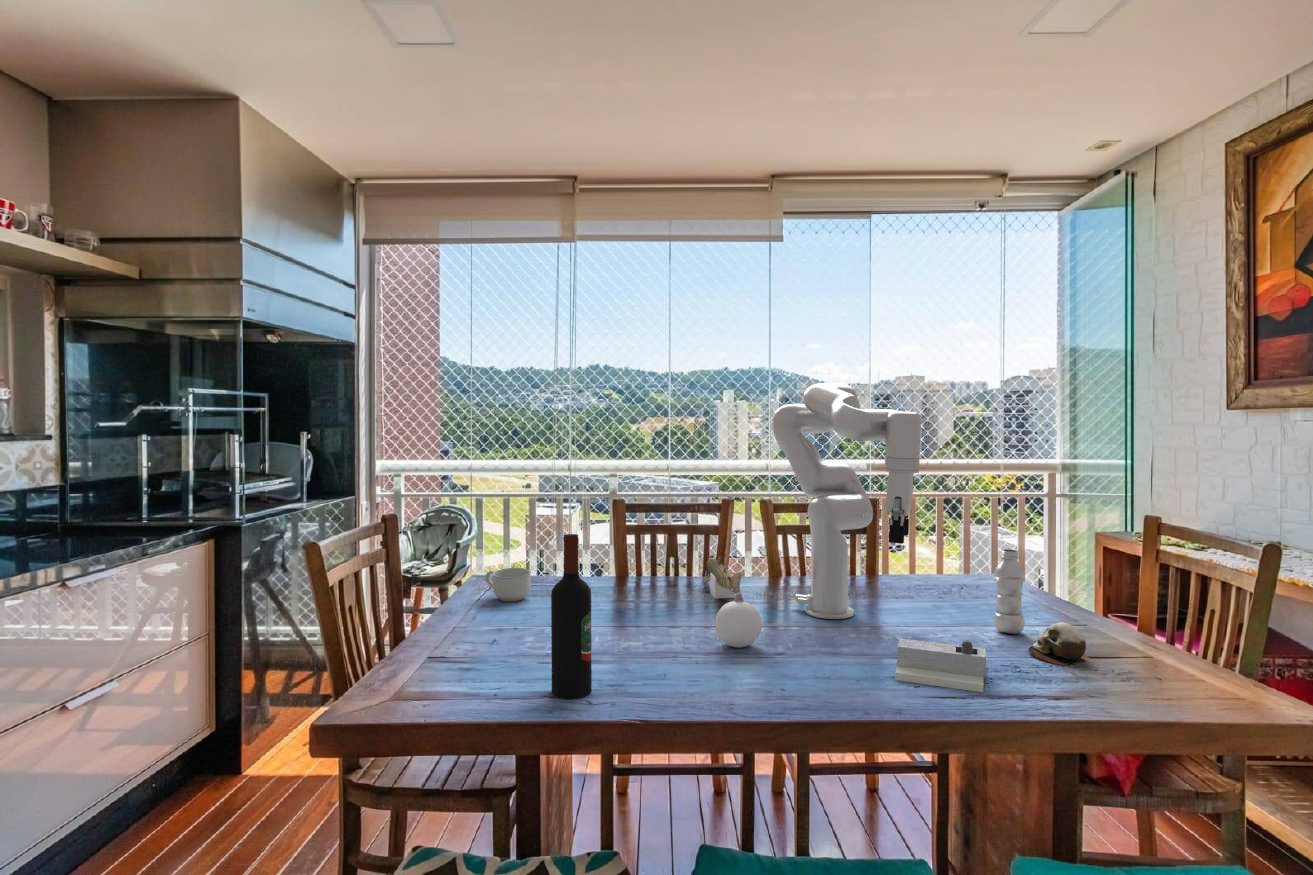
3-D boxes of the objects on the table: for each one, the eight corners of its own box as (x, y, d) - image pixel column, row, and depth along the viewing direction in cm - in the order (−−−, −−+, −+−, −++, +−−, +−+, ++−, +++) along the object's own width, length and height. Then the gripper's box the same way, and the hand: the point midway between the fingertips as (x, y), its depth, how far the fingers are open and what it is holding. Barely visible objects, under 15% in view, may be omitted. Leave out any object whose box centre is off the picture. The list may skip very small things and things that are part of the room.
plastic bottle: (1027, 637, 172) (1029, 553, 171) (997, 635, 173) (998, 552, 172) (1020, 629, 178) (1021, 548, 177) (990, 628, 179) (991, 547, 179)
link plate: (896, 666, 148) (897, 646, 148) (899, 657, 153) (899, 638, 153) (985, 677, 141) (985, 657, 141) (985, 668, 147) (985, 648, 147)
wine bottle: (552, 684, 142) (552, 532, 141) (591, 683, 142) (591, 531, 142) (550, 699, 134) (549, 538, 133) (591, 698, 135) (590, 538, 134)
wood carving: (723, 614, 192) (723, 572, 192) (697, 584, 227) (697, 548, 226) (756, 613, 193) (756, 571, 193) (725, 583, 228) (725, 547, 228)
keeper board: (895, 680, 144) (895, 642, 144) (901, 658, 157) (902, 624, 157) (983, 692, 138) (983, 653, 138) (982, 668, 151) (983, 633, 150)
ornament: (735, 636, 173) (735, 586, 172) (770, 646, 166) (770, 594, 165) (706, 646, 166) (706, 594, 165) (741, 656, 158) (742, 602, 158)
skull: (1012, 648, 161) (1033, 610, 164) (1036, 675, 164) (1056, 637, 167) (1063, 663, 150) (1085, 622, 153) (1088, 691, 153) (1108, 650, 156)
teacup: (538, 597, 210) (538, 570, 210) (512, 605, 201) (512, 577, 201) (503, 591, 217) (503, 564, 217) (476, 599, 208) (476, 571, 208)
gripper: (889, 460, 176) (886, 530, 177) (879, 467, 160) (876, 544, 161) (922, 462, 173) (919, 533, 174) (915, 470, 157) (912, 548, 158)
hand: (898, 538), depth 168 cm, fingers open, 9 cm apart
